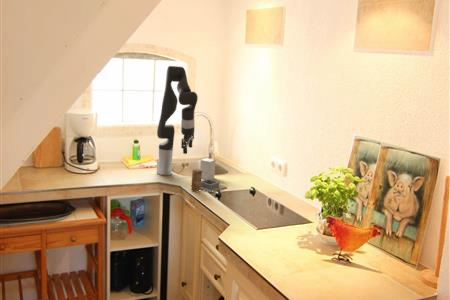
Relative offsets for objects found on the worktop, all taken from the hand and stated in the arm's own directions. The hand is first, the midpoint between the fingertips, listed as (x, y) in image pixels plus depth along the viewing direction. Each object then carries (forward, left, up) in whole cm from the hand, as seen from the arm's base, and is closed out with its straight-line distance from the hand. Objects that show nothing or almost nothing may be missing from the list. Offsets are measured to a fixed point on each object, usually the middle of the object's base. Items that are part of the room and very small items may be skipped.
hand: (187, 150), depth 276 cm
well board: (+3, +18, -25) cm, 31 cm away
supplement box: (-11, +32, -25) cm, 42 cm away
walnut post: (+3, +6, -25) cm, 26 cm away
